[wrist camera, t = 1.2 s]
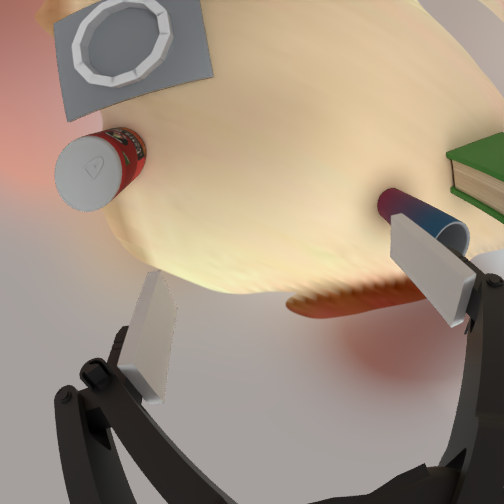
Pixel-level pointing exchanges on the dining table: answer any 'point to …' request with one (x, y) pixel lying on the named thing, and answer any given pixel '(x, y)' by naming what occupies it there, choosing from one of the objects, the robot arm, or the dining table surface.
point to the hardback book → (481, 174)
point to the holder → (128, 51)
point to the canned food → (98, 167)
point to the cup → (425, 218)
